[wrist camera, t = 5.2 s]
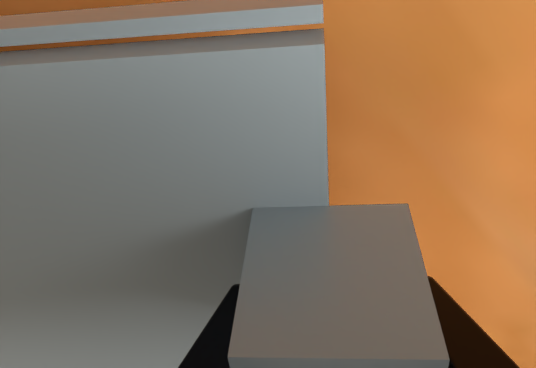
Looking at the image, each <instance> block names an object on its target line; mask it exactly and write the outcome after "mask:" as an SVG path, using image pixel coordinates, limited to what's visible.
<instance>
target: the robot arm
mask: <svg viewBox="0 0 536 368" xmlns="http://www.w3.org/2000/svg"><path fill="white" fill-rule="evenodd" d="M427 277H428V281H429V284H430V288H431V292H432V296H433V299H434V303H435V307H436V310H437V314H438V318H439V322H440V325H441V329H442V333H443V337H444V340H445V344H446V348H447V352H448V355H449V359H450V361H449V366H448V368H519V367H518V365H517V364H516V363H515V362H514V361H513V360H512V359H511V358H510V357H509V356H508V355H507V354H506V353H505V352H504V351H503V350H502V349H501V348H500V347H499V346H498V345H497V344H496V343H495V342H494V341H493V340H492V339H491V338H490V337H489V336H488V335H487V333H486V332H485V331H484V330H483V329H482V328H481V327H480V326H479V325H478V324H477V323H476V322H475V321H474V320H473V319H472V318H471V317H470V316H469V315H468V314H467V313H466V312H465V311H464V310H463V309H462V308H461V307H460V306H459V305H458V304H457V303H456V301H455V300H454V299H453V298H452V297H451V296H450V295H449V294H448V293H447V292H446V291H445V290H444V289H443V288H442V287H441V286H440V285H439V284H438V283H437V282H436V281H435V280H434V279H433V278H432V277H430V276H427ZM239 287H240V284H234V285H232V286H231V288H230V289H229V291H228V292H227V294H226V295H225V297H224V298H223V300H222V301H221V303H220V304H219V306H218V307H217V309H216V310H215V312H214V313H213V315H212V317H211V318H210V320H209V321H208V323H207V324H206V326H205V327H204V329H203V330H202V332H201V333H200V335H199V336H198V338H197V339H196V341H195V342H194V344H193V345H192V347H191V348H190V350H189V351H188V353H187V354H186V356H185V358H184V359H183V361H182V362H181V364H180V365H179V367H178V368H230V366H229V362H228V351H229V345H230V340H231V334H232V328H233V322H234V316H235V310H236V304H237V299H238V293H239Z"/></svg>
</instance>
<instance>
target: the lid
mask: <svg viewBox="0 0 536 368" xmlns="http://www.w3.org/2000/svg"><path fill="white" fill-rule="evenodd" d="M317 23H323V0H188V1H176V2H164V3H152V4H139V5H127V6H115V7H103V8H91V9H78V10H66V11H54V12H42V13H30V14H18V15H5V16H0V47H4V46H18V45H32V44H45V43H59V42H72V41H86V40H100V39H113V38H127V37H140V36H154V35H168V34H181V33H195V32H208V31H222V30H236V29H249V28H263V27H276V26H290V25H304V24H317ZM234 284H240V287H239V293H238V299H237V304H236V310H235V316H234V322H233V328H232V334H231V340H230V345H229V351H228V362H229V366H230V368H448V366H449V361H450V359H449V355H448V352H447V348H446V344H445V340H444V337H443V333H442V329H441V325H440V322H439V318H438V314H437V310H436V307H435V303H434V299H433V296H432V292H431V288H430V284H429V281H428V277H427V273H426V269H425V266H424V262H423V258H422V254H421V251H420V247H419V243H418V240H417V236H416V232H415V228H414V225H413V221H412V217H411V213H410V210H409V206H408V204H375V205H338V206H329V191H328V155H327V119H326V83H325V47H324V28H323V29H309V30H295V31H282V32H268V33H254V34H240V35H226V36H212V37H198V38H185V39H171V40H157V41H143V42H129V43H115V44H101V45H88V46H74V47H60V48H46V49H32V50H18V51H4V52H0V368H178V367H179V365H180V364H181V362H182V361H183V359H184V358H185V356H186V354H187V353H188V351H189V350H190V348H191V347H192V345H193V344H194V342H195V341H196V339H197V338H198V336H199V335H200V333H201V332H202V330H203V329H204V327H205V326H206V324H207V323H208V321H209V320H210V318H211V317H212V315H213V313H214V312H215V310H216V309H217V307H218V306H219V304H220V303H221V301H222V300H223V298H224V297H225V295H226V294H227V292H228V291H229V289H230V288H231V286H232V285H234Z"/></svg>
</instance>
